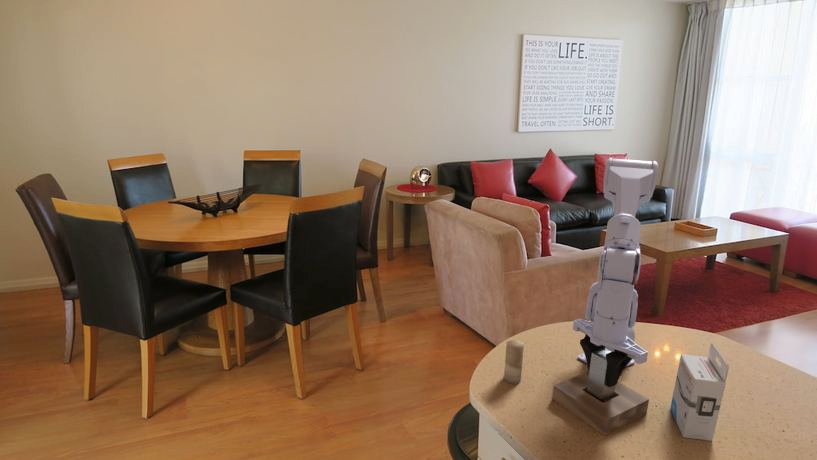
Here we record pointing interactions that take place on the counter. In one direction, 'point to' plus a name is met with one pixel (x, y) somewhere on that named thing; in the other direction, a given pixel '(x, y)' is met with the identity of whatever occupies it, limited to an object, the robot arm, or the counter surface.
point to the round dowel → (513, 361)
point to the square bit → (599, 375)
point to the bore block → (600, 404)
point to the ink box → (699, 394)
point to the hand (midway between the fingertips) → (602, 379)
